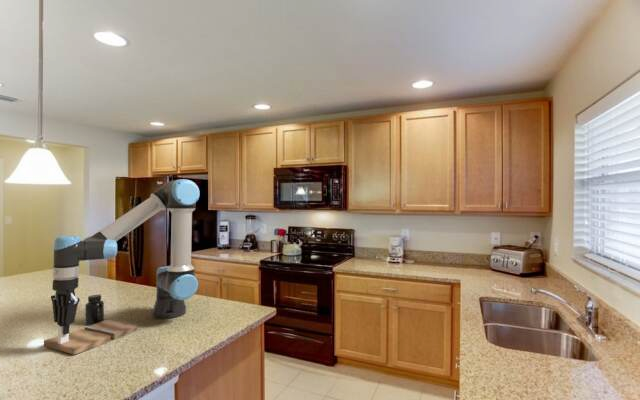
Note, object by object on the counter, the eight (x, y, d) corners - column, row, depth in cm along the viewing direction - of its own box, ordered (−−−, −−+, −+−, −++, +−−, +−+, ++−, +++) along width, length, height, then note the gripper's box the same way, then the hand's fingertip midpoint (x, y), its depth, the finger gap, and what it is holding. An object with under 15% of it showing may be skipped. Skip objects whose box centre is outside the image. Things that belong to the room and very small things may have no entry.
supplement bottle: (102, 318, 150) (102, 292, 150) (105, 322, 145) (105, 296, 145) (83, 322, 145) (84, 295, 145) (86, 326, 140) (87, 299, 140)
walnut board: (107, 324, 143) (107, 318, 143) (136, 330, 137) (136, 324, 137) (84, 332, 134) (84, 326, 134) (114, 339, 128) (114, 333, 128)
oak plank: (81, 333, 133) (81, 328, 133) (110, 340, 126) (110, 335, 126) (43, 346, 121) (43, 340, 121) (74, 354, 114) (74, 349, 114)
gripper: (43, 278, 118) (40, 343, 118) (66, 281, 114) (63, 349, 113) (65, 274, 125) (63, 335, 125) (88, 277, 121) (85, 341, 120)
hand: (63, 342), depth 119 cm, fingers closed
